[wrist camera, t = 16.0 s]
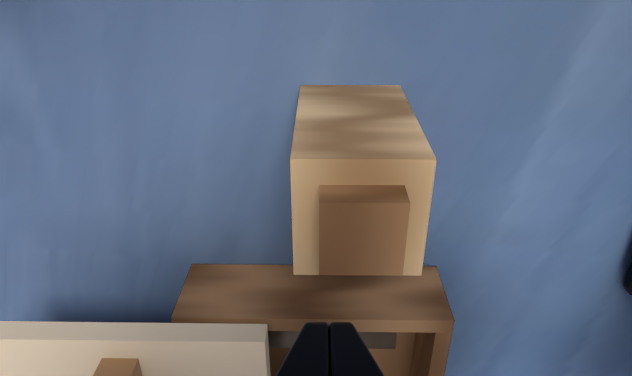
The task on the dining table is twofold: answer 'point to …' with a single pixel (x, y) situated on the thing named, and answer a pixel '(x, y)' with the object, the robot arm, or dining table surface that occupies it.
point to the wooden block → (359, 182)
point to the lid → (133, 349)
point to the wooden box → (328, 310)
